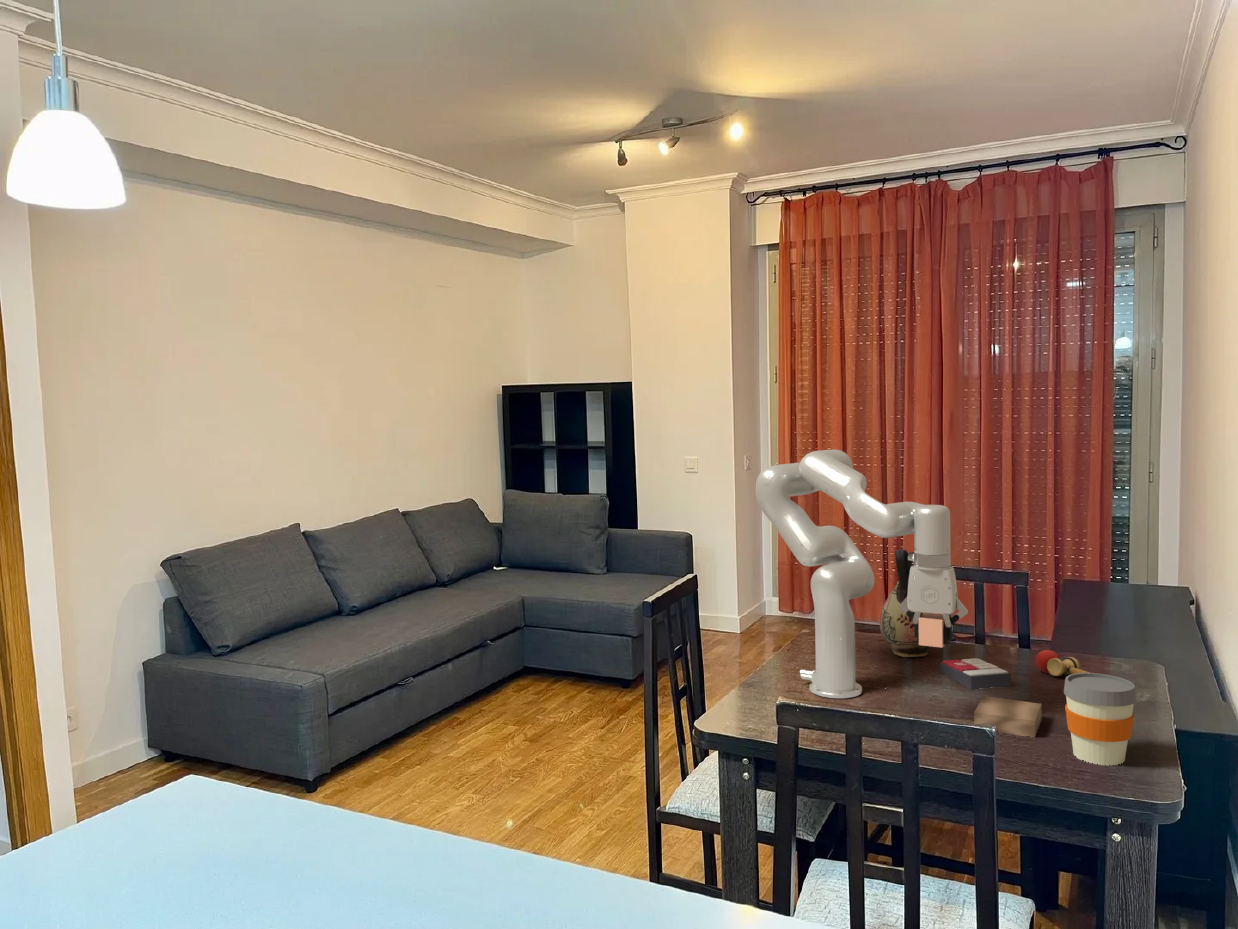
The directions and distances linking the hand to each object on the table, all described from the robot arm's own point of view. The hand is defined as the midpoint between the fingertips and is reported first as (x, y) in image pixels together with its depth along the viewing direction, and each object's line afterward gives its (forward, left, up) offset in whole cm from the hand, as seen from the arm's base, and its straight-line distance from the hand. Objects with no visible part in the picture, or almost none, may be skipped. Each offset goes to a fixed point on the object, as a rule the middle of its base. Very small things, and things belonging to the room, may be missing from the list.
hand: (933, 641), depth 198 cm
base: (+15, +4, -18) cm, 24 cm away
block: (0, 0, -1) cm, 1 cm away
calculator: (+3, +34, -18) cm, 38 cm away
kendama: (+24, +44, -18) cm, 53 cm away
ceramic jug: (-17, +49, -18) cm, 55 cm away
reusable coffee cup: (+33, -7, -18) cm, 38 cm away
